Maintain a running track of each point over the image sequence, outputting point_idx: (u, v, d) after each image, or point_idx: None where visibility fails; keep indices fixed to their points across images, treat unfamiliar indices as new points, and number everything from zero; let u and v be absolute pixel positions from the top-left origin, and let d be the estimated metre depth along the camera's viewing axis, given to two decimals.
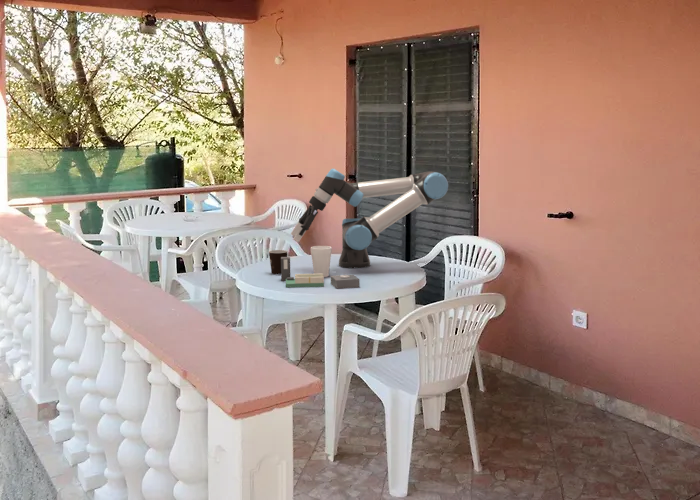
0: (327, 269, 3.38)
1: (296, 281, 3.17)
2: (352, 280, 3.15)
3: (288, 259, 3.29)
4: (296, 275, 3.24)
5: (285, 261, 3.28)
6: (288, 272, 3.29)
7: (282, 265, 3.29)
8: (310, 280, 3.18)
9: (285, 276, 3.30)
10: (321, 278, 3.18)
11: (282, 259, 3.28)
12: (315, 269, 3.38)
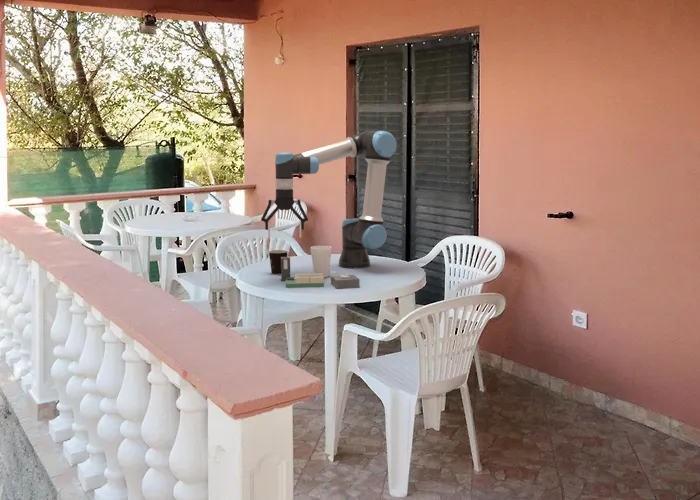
0: (327, 269, 3.38)
1: (296, 281, 3.17)
2: (352, 280, 3.15)
3: (288, 259, 3.28)
4: (296, 275, 3.24)
5: (285, 261, 3.28)
6: (288, 272, 3.29)
7: (282, 265, 3.29)
8: (310, 280, 3.18)
9: (285, 276, 3.30)
10: (321, 278, 3.18)
11: (282, 259, 3.28)
12: (315, 269, 3.38)
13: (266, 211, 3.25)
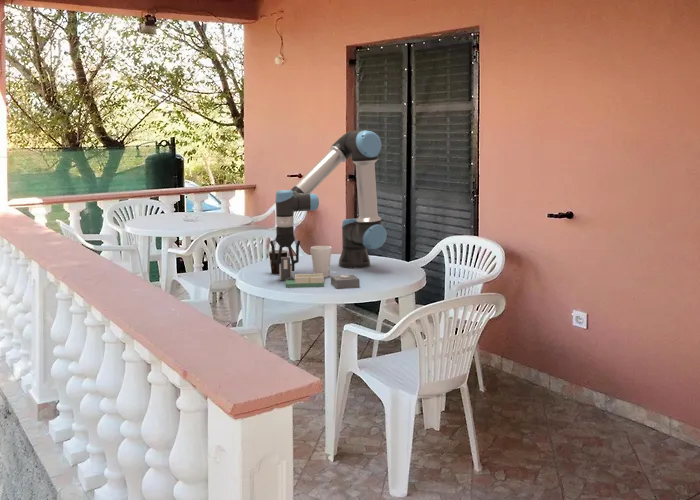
0: (327, 269, 3.38)
1: (296, 281, 3.17)
2: (352, 280, 3.15)
3: (288, 259, 3.29)
4: (296, 275, 3.24)
5: (285, 261, 3.28)
6: (288, 272, 3.29)
7: (282, 265, 3.29)
8: (310, 280, 3.18)
9: (285, 276, 3.30)
10: (321, 278, 3.18)
11: (282, 259, 3.28)
12: (315, 269, 3.38)
13: (273, 252, 3.28)
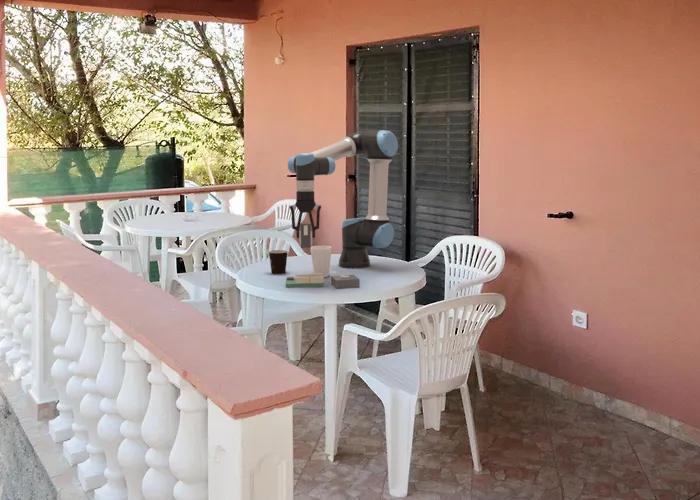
0: (327, 269, 3.38)
1: (296, 281, 3.17)
2: (352, 280, 3.15)
3: (308, 225, 3.17)
4: (296, 275, 3.24)
5: (305, 227, 3.16)
6: (308, 238, 3.18)
7: (302, 231, 3.17)
8: (310, 280, 3.18)
9: (305, 243, 3.18)
10: (321, 278, 3.18)
11: (302, 225, 3.17)
12: (315, 269, 3.38)
13: (293, 218, 3.17)
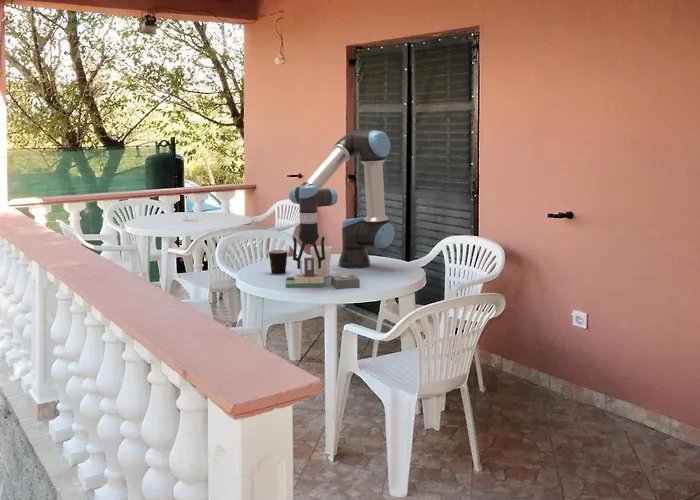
0: (327, 269, 3.38)
1: (296, 281, 3.17)
2: (352, 280, 3.15)
3: (312, 260, 3.18)
4: (296, 275, 3.24)
5: (309, 262, 3.17)
6: (312, 273, 3.19)
7: (305, 265, 3.18)
8: (310, 280, 3.18)
9: None
10: (321, 278, 3.18)
11: (306, 260, 3.18)
12: (315, 269, 3.38)
13: (294, 249, 3.18)
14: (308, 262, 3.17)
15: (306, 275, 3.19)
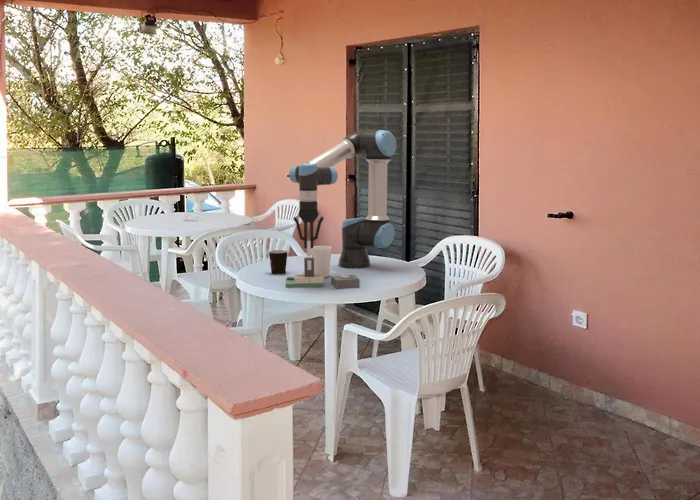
0: (327, 269, 3.38)
1: (296, 281, 3.17)
2: (352, 280, 3.15)
3: (312, 260, 3.18)
4: (296, 275, 3.24)
5: (309, 262, 3.17)
6: (312, 273, 3.19)
7: (305, 265, 3.18)
8: (310, 280, 3.18)
9: None
10: (321, 278, 3.18)
11: (306, 260, 3.18)
12: (315, 269, 3.38)
13: (299, 229, 3.16)
14: (308, 262, 3.17)
15: (306, 275, 3.19)
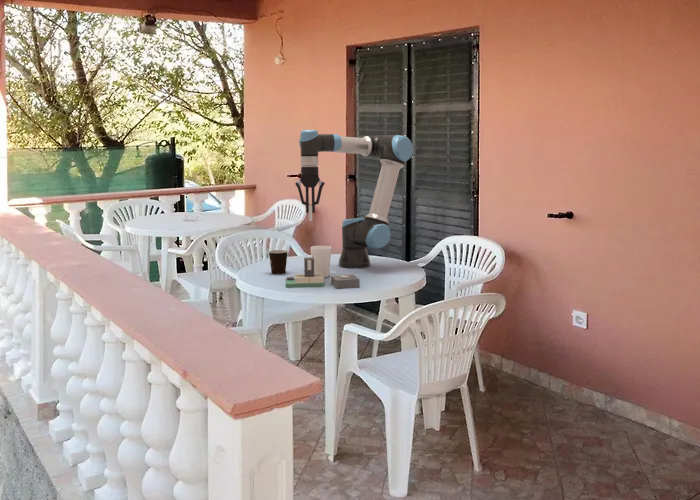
0: (327, 269, 3.38)
1: (296, 281, 3.17)
2: (352, 280, 3.15)
3: (312, 260, 3.18)
4: (296, 275, 3.24)
5: (309, 262, 3.17)
6: (312, 273, 3.19)
7: (305, 265, 3.18)
8: (310, 280, 3.18)
9: None
10: (321, 278, 3.18)
11: (306, 260, 3.18)
12: (315, 269, 3.38)
13: (300, 194, 3.26)
14: (308, 262, 3.17)
15: (306, 275, 3.19)
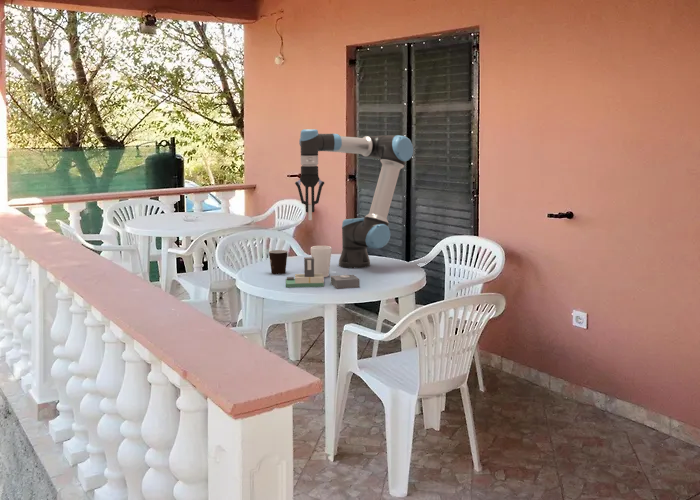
0: (327, 269, 3.38)
1: (296, 281, 3.17)
2: (352, 280, 3.15)
3: (312, 260, 3.18)
4: (296, 275, 3.24)
5: (309, 262, 3.17)
6: (312, 273, 3.19)
7: (305, 265, 3.18)
8: (310, 280, 3.18)
9: None
10: (321, 278, 3.18)
11: (306, 260, 3.18)
12: (315, 269, 3.38)
13: (300, 193, 3.26)
14: (308, 262, 3.17)
15: (306, 275, 3.19)
